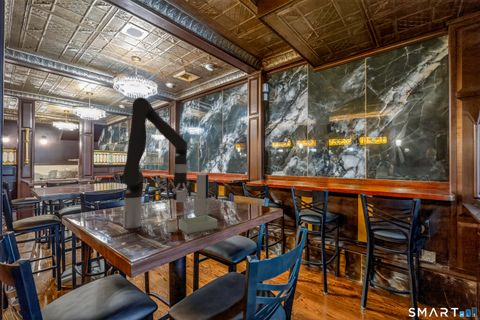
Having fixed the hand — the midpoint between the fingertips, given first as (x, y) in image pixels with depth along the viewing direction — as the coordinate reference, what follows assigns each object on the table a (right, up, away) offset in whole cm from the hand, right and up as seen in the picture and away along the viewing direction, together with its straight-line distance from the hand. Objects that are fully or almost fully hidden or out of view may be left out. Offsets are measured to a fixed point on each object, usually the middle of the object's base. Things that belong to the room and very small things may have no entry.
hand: (179, 199), depth 131 cm
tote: (+12, -15, -8) cm, 21 cm away
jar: (-1, -15, -13) cm, 20 cm away
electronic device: (+9, -16, +25) cm, 31 cm away
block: (0, -1, 0) cm, 1 cm away
